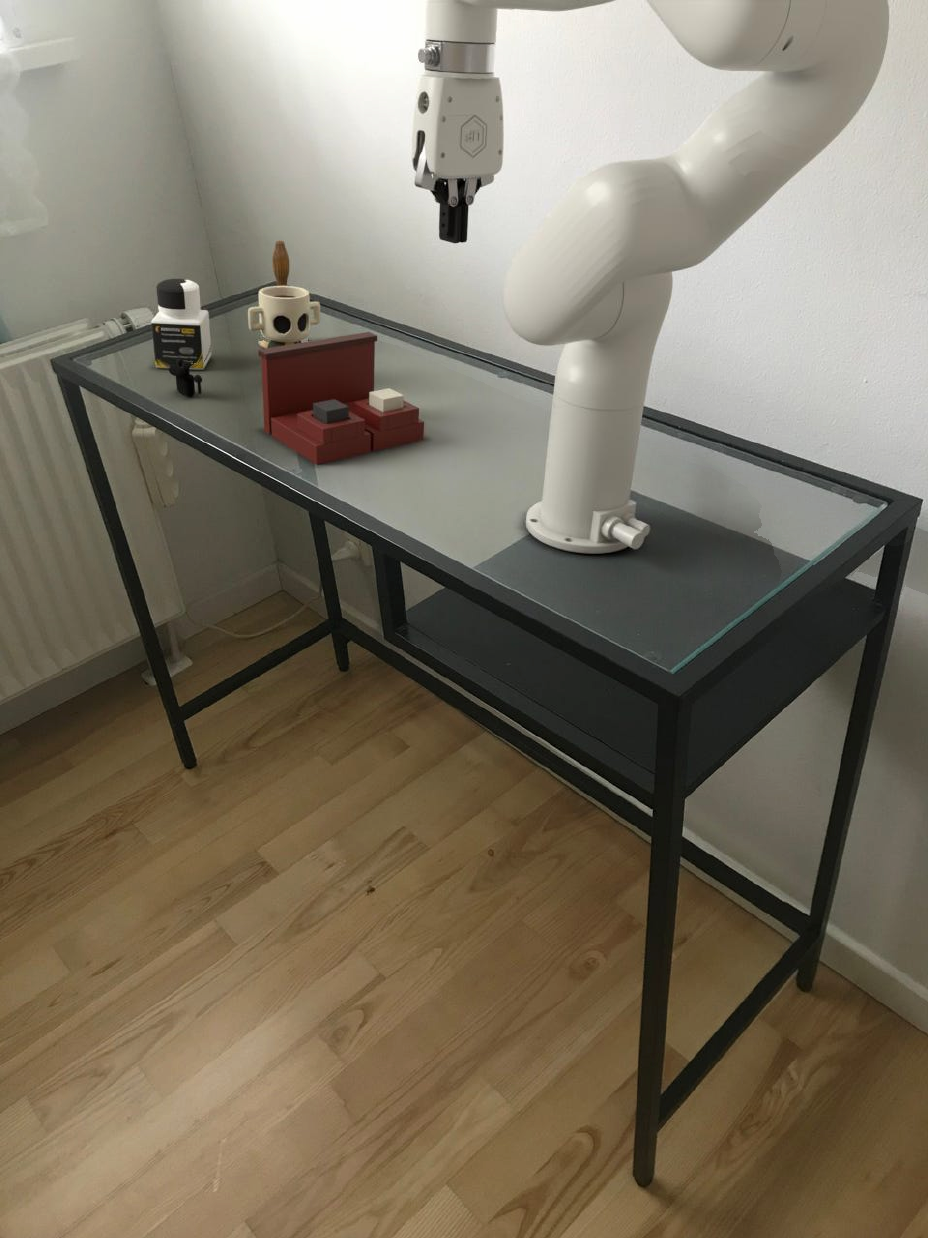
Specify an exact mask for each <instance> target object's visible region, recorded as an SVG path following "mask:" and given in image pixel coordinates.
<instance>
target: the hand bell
mask: <svg viewBox="0 0 928 1238" xmlns="http://www.w3.org/2000/svg"><path fill="white" fill-rule="evenodd" d="M288 253H289V252H288V251H287V248H286V244H285V241H283V240H277V241H275V245H274V250H273V253H272V270H273V275H274V277H275V281H276V286H288V279H289V275H290V258H289V254H288ZM268 343H269V342H266V341H264V340H263V341H259V340H258V345H259V347H261V348H262V349H266V348H267V346H268Z"/></svg>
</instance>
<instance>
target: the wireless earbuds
mask: <svg viewBox="0 0 928 1238" xmlns="http://www.w3.org/2000/svg"><path fill="white" fill-rule="evenodd" d="M177 365H178V366H177ZM177 365H175V364H171V365H170V368H169V369H168V371H169V374H170V375H171V376H173V377H175V384H176V386H175V387H176V391H177V392H178V393H179V394H182V396H183V395H184V396H186V397H189V398H190V397H194V396H195V394H196V386H195V385H196V384H195V383H197V393H198V395H202V394H203V393H202V382H203V378H202V376H201V375H200V374H196V375H193V374H191V373H190V367H191V366H190V363H189V362H188V361H183V360H182V359H180V358H178V359H177ZM181 366H183V367H181Z"/></svg>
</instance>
